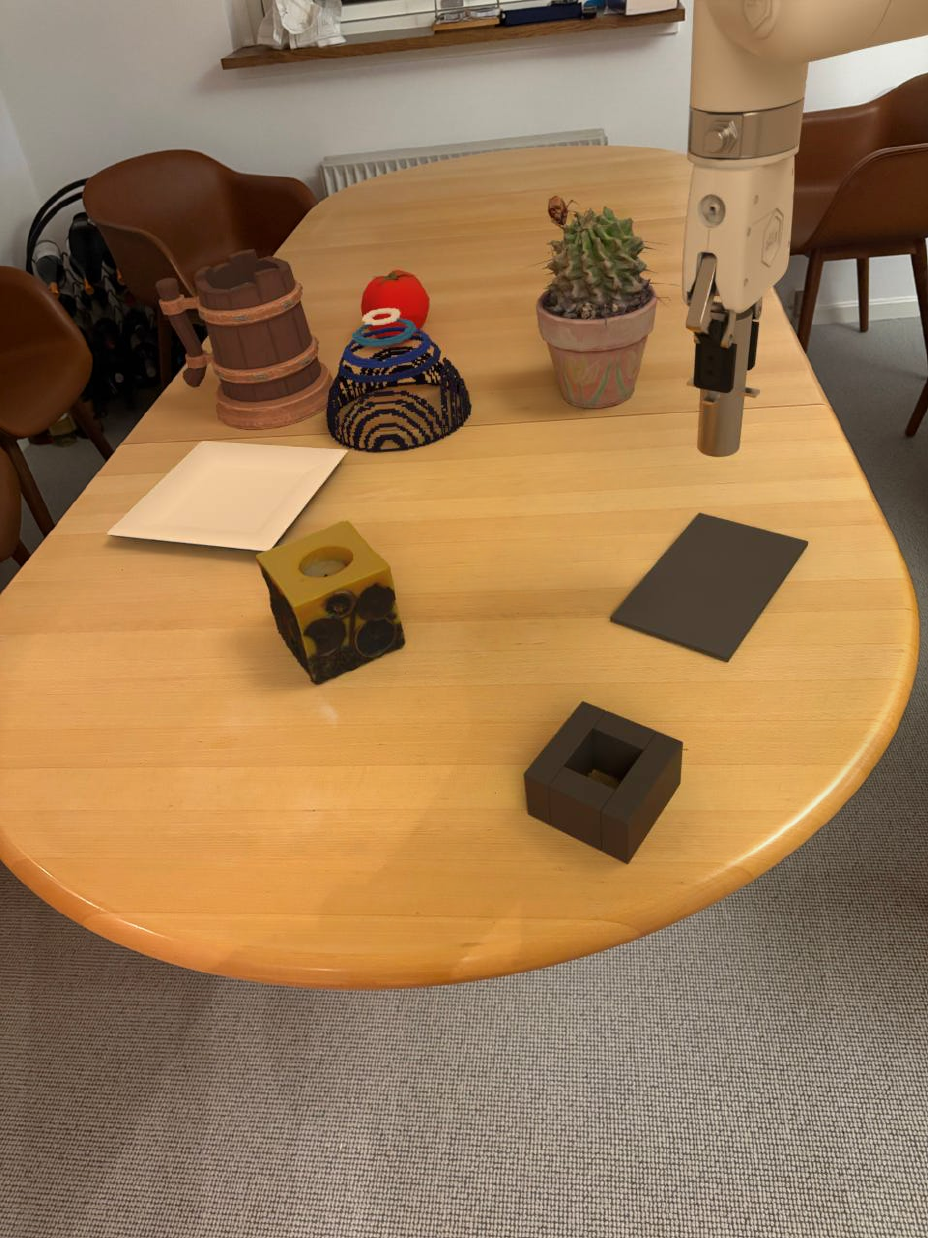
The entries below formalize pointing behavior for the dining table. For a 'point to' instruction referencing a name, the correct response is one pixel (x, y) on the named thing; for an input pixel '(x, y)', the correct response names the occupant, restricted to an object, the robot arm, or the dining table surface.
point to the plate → (230, 495)
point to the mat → (710, 585)
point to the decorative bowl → (394, 385)
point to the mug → (251, 341)
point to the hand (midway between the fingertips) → (724, 375)
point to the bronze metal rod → (726, 399)
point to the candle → (332, 601)
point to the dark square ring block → (594, 807)
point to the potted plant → (596, 307)
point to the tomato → (396, 300)
